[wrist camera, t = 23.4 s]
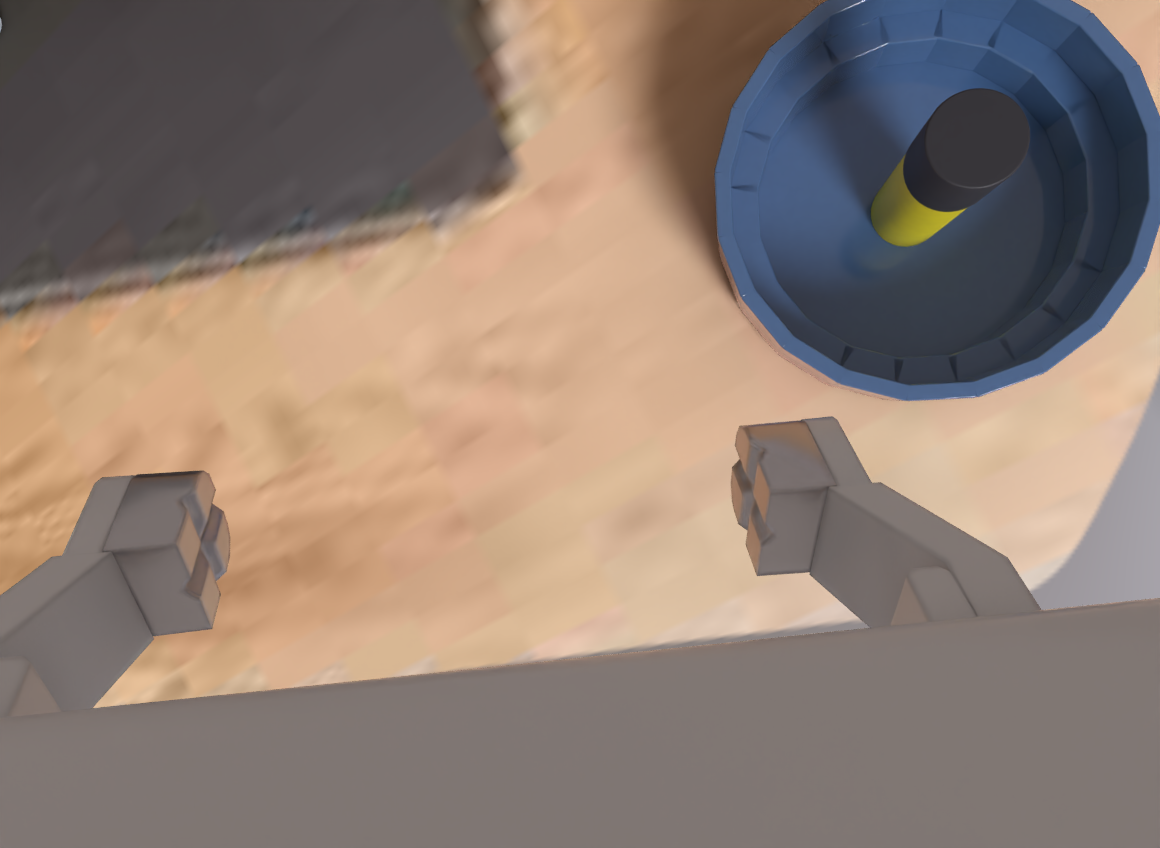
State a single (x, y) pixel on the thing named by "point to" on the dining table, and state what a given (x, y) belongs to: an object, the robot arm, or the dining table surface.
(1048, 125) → the bowl
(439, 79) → the dining table surface
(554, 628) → the dining table surface
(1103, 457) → the dining table surface
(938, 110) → the highlighter
